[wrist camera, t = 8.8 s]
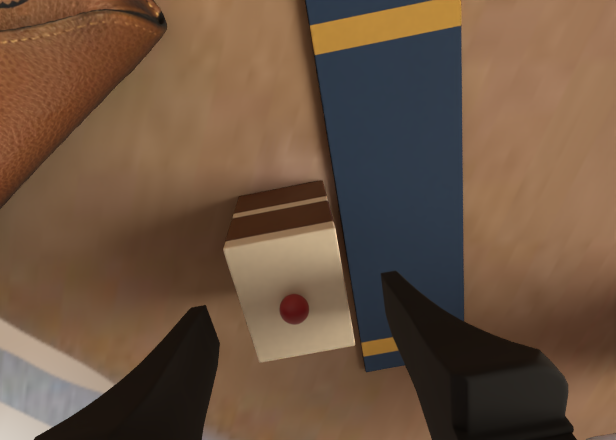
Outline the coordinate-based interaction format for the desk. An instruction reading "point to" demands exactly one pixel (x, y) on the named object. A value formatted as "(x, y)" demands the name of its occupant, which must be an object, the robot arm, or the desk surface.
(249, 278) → the cake slice
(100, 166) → the desk surface
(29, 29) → the sunglasses case
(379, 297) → the cloth
